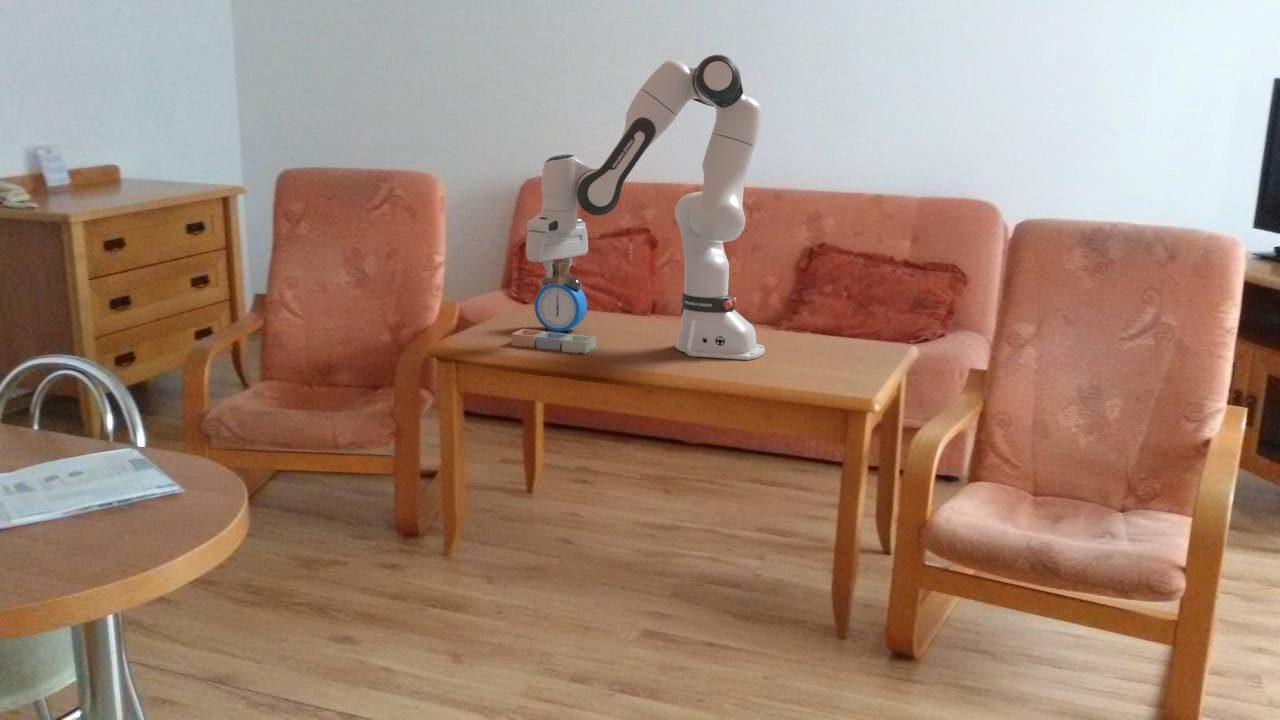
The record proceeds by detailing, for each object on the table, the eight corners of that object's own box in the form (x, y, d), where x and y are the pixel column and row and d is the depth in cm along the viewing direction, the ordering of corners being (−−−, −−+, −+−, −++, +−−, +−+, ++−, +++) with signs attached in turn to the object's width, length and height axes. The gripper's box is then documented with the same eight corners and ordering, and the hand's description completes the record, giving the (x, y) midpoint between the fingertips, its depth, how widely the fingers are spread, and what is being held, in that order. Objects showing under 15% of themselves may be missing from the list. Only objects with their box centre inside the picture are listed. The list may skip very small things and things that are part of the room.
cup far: (545, 342, 288) (545, 331, 287) (534, 348, 282) (534, 336, 281) (523, 340, 290) (523, 328, 289) (511, 345, 284) (511, 333, 284)
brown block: (556, 281, 285) (557, 261, 284) (568, 283, 283) (569, 263, 282) (546, 283, 282) (546, 263, 281) (558, 285, 280) (559, 265, 279)
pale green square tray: (595, 348, 283) (596, 337, 282) (585, 354, 277) (585, 342, 277) (572, 346, 285) (572, 334, 285) (561, 351, 279) (562, 339, 279)
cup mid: (570, 345, 285) (570, 334, 285) (559, 351, 280) (559, 339, 279) (547, 343, 288) (547, 331, 287) (536, 348, 282) (536, 336, 281)
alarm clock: (533, 330, 301) (533, 275, 298) (543, 325, 307) (543, 271, 303) (578, 335, 297) (579, 279, 294) (587, 330, 303) (588, 275, 299)
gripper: (575, 216, 289) (574, 270, 292) (521, 223, 273) (521, 279, 276) (594, 219, 285) (593, 273, 289) (541, 225, 269) (540, 282, 272)
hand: (557, 276), depth 282 cm, fingers closed on brown block, 4 cm apart
